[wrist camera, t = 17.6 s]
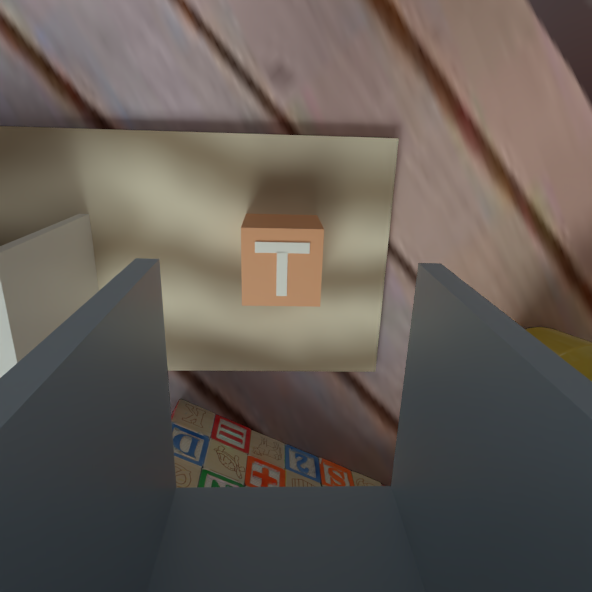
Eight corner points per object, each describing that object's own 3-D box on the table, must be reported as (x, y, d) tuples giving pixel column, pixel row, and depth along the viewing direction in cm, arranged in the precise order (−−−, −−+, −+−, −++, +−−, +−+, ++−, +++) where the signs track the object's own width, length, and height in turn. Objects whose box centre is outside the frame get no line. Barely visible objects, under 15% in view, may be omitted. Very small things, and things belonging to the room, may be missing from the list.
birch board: (372, 364, 34) (375, 371, 33) (-44, 362, 32) (-53, 369, 31) (394, 138, 28) (398, 138, 27) (-105, 122, 27) (-119, 122, 26)
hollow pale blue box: (406, 500, 15) (640, 1150, 5) (158, 502, 14) (-67, 1207, 5) (441, 263, 12) (1033, 726, 3) (135, 258, 12) (-459, 783, 2)
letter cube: (314, 282, 30) (320, 307, 26) (246, 281, 30) (241, 306, 26) (317, 215, 29) (324, 229, 24) (246, 213, 28) (240, 227, 24)
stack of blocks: (413, 492, 38) (473, 649, 27) (375, 543, 40) (416, 710, 28) (178, 396, 34) (127, 532, 23) (147, 457, 36) (86, 612, 24)
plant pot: (435, 355, 34) (496, 439, 25) (560, 274, 32) (676, 331, 23) (500, 444, 37) (575, 549, 28) (617, 375, 35) (739, 462, 26)
